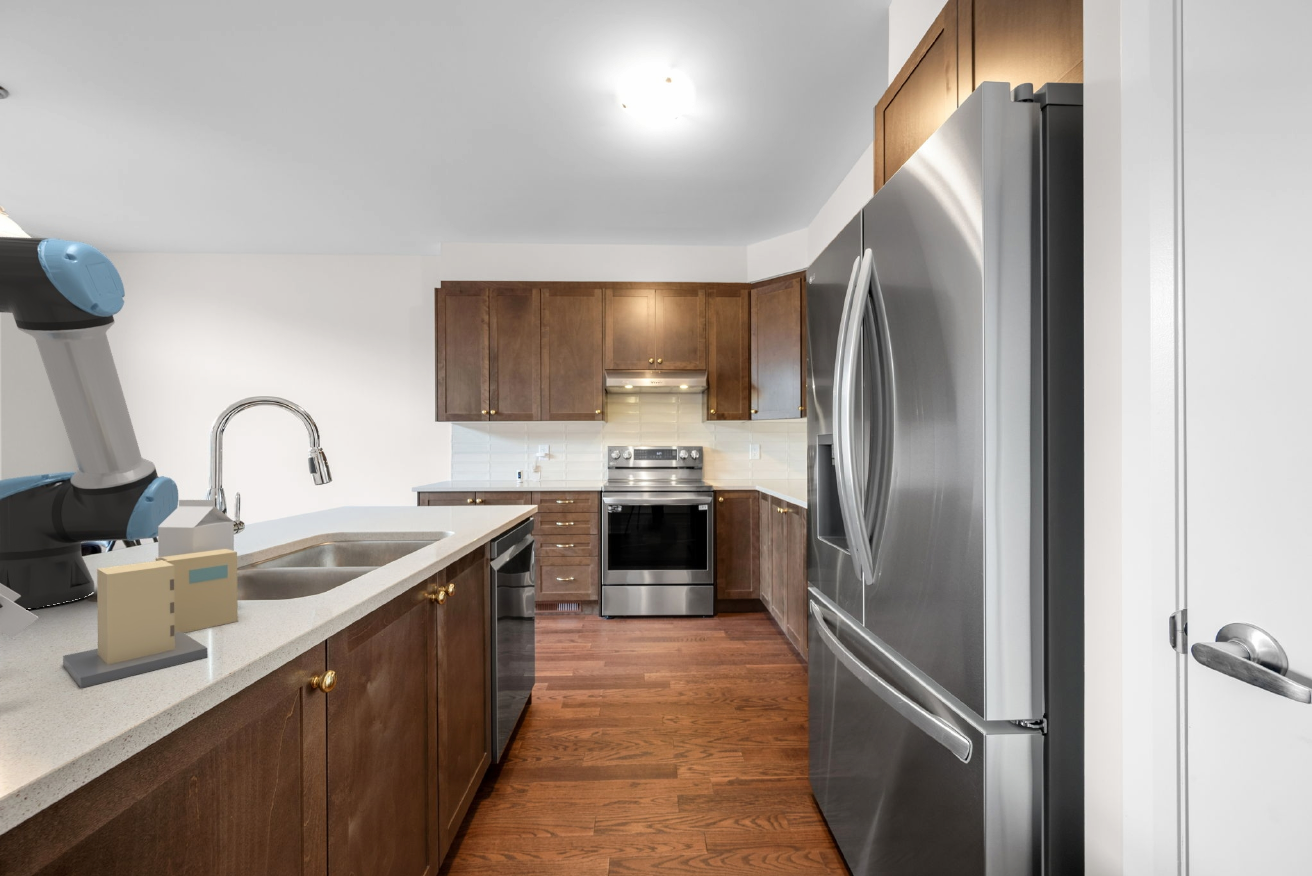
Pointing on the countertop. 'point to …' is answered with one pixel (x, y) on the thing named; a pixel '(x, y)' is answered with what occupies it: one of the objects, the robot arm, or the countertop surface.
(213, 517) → the milk carton
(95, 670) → the plate
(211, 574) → the cardboard shipping box
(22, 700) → the countertop surface
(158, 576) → the tan rectangular block
